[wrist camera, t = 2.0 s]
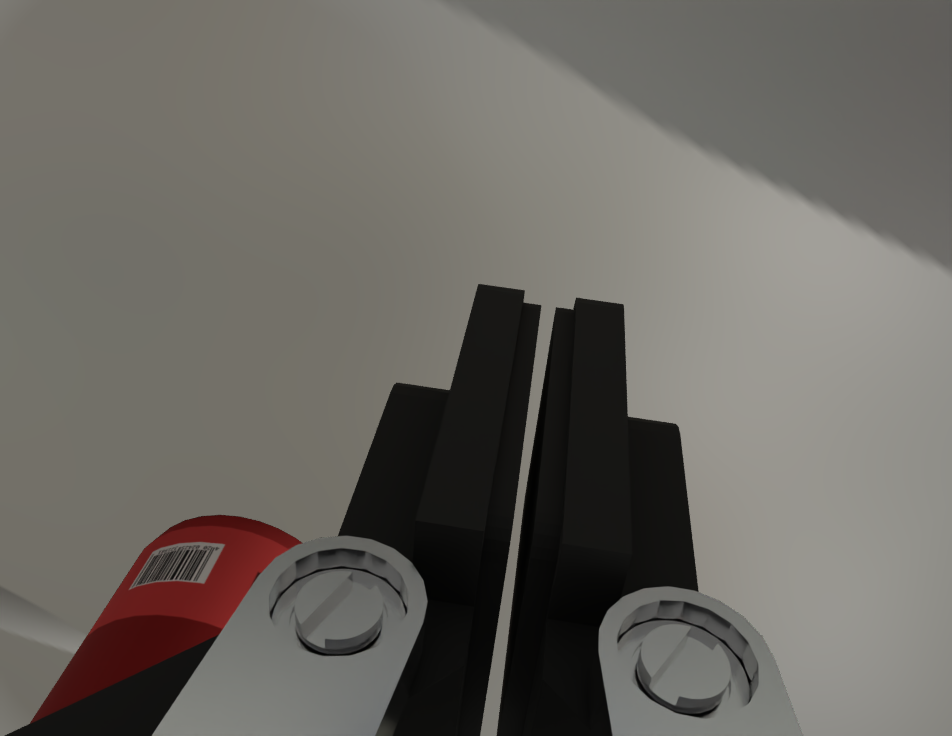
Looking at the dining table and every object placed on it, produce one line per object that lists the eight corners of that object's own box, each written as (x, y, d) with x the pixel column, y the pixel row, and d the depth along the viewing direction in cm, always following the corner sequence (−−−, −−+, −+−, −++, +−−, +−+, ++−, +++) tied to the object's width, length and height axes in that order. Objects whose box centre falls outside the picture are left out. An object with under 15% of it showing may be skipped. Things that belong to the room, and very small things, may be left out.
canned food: (113, 589, 34) (-78, 883, 25) (196, 470, 30) (4, 769, 20) (283, 682, 35) (163, 990, 26) (384, 581, 31) (284, 904, 22)
